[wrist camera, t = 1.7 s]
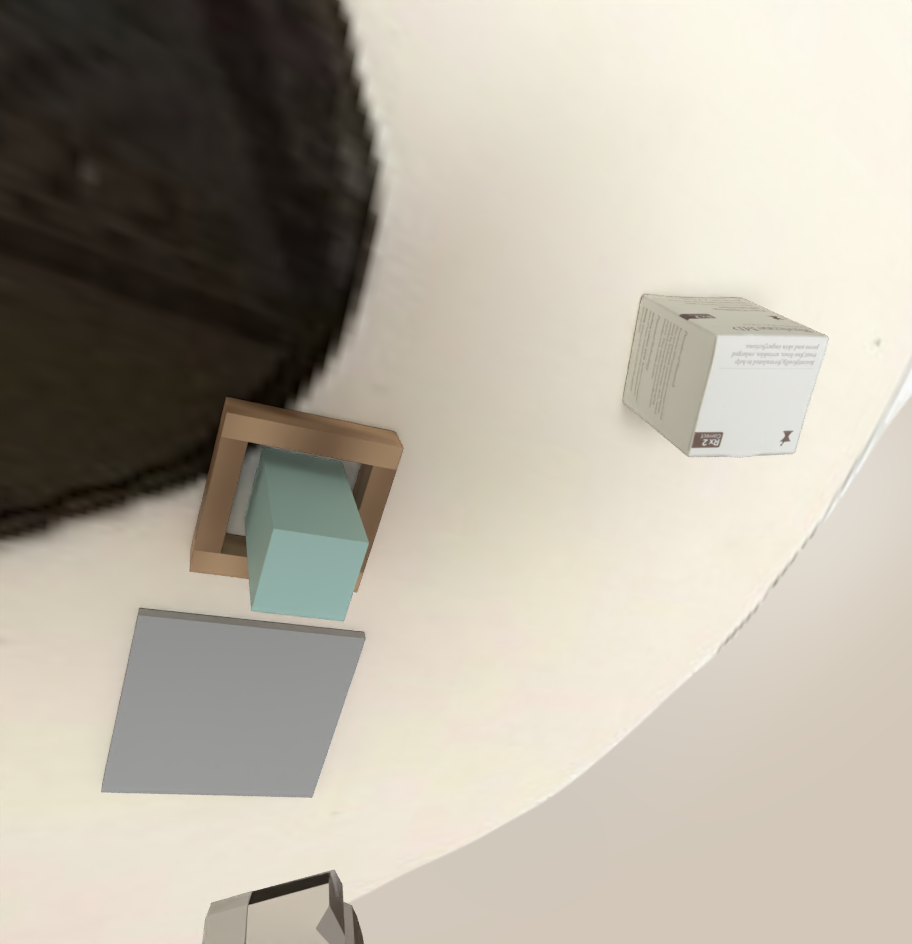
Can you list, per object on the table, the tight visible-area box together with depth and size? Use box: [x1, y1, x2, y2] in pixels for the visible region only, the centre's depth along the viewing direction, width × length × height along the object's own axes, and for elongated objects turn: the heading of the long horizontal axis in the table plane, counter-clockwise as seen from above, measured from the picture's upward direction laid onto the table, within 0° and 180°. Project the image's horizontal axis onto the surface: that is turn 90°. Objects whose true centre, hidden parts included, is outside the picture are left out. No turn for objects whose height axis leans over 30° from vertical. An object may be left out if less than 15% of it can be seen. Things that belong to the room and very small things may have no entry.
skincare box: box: [623, 295, 828, 457], centre depth 39 cm, size 6×6×7 cm
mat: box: [101, 608, 366, 798], centre depth 45 cm, size 12×12×1 cm
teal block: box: [244, 447, 369, 621], centre depth 37 cm, size 4×4×8 cm
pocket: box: [190, 397, 404, 592], centre depth 39 cm, size 8×8×2 cm
